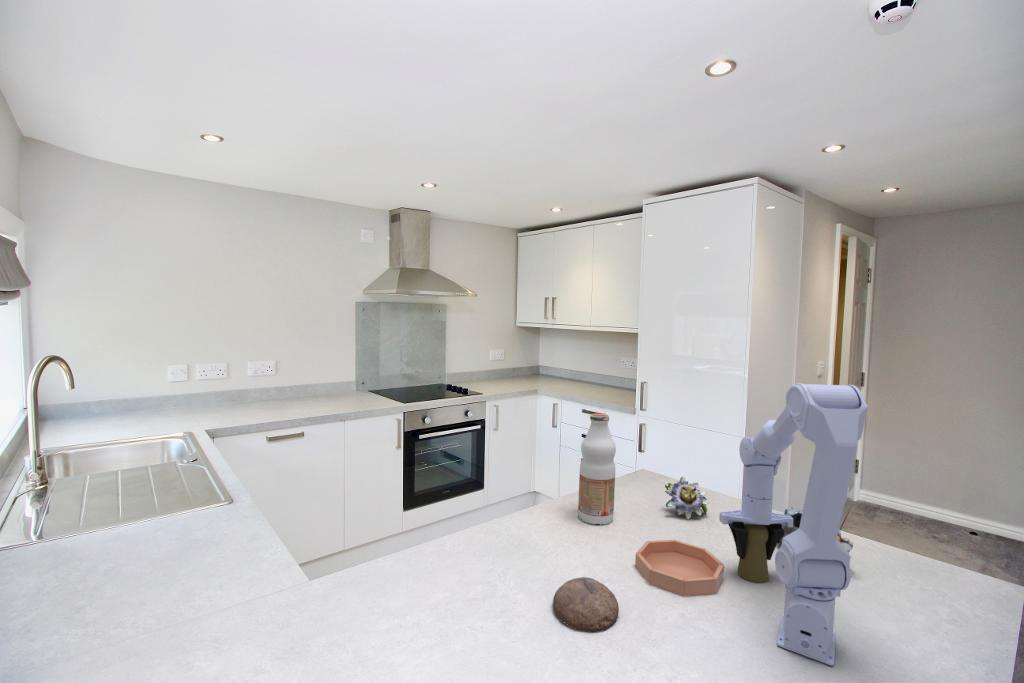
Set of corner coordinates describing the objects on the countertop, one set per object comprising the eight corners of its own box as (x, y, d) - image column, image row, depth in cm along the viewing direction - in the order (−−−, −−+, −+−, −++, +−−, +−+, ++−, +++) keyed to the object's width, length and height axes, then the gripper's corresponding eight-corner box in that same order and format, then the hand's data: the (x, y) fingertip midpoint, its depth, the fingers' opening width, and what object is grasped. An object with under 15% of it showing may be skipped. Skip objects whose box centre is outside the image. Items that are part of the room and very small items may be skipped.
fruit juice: (585, 526, 123) (589, 419, 122) (572, 511, 132) (576, 411, 131) (619, 524, 125) (623, 418, 124) (604, 509, 135) (608, 411, 133)
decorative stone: (581, 642, 80) (582, 611, 80) (540, 604, 90) (541, 576, 90) (632, 620, 86) (633, 591, 86) (588, 587, 96) (589, 560, 96)
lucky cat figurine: (853, 556, 112) (870, 517, 104) (830, 590, 106) (846, 551, 98) (787, 517, 122) (798, 479, 115) (763, 546, 116) (773, 508, 109)
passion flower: (686, 538, 131) (667, 506, 127) (669, 514, 141) (651, 484, 138) (722, 516, 130) (703, 484, 127) (702, 494, 141) (684, 464, 137)
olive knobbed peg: (772, 584, 99) (775, 531, 98) (741, 580, 100) (744, 528, 99) (763, 569, 105) (766, 520, 104) (733, 566, 106) (736, 517, 105)
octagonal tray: (710, 605, 91) (710, 590, 91) (626, 575, 101) (627, 561, 100) (728, 568, 105) (728, 555, 104) (653, 545, 114) (653, 533, 114)
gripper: (782, 489, 105) (778, 549, 106) (715, 486, 106) (712, 546, 106) (800, 501, 98) (796, 566, 99) (728, 498, 99) (724, 562, 99)
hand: (753, 557), depth 102 cm, fingers closed on olive knobbed peg, 5 cm apart
